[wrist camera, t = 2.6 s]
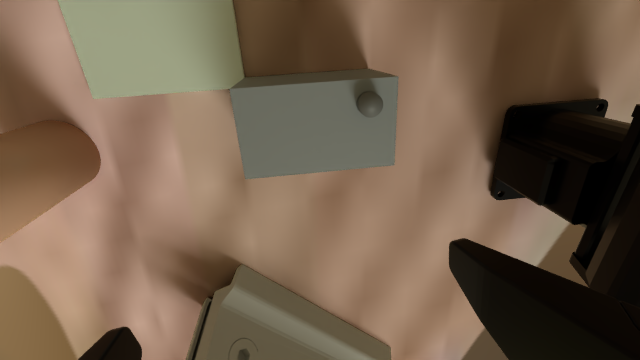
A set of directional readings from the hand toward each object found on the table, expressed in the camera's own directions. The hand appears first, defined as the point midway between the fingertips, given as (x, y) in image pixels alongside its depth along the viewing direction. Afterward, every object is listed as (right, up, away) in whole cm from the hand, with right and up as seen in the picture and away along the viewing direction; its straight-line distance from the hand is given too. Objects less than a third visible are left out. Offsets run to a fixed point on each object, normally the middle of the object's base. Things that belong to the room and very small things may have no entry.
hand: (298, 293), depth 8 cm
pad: (-8, +12, +7) cm, 16 cm away
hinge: (-2, -10, +17) cm, 20 cm away
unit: (0, +7, +9) cm, 12 cm away
